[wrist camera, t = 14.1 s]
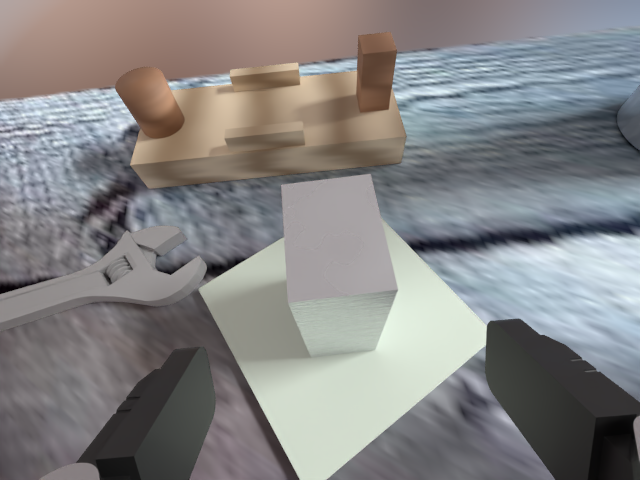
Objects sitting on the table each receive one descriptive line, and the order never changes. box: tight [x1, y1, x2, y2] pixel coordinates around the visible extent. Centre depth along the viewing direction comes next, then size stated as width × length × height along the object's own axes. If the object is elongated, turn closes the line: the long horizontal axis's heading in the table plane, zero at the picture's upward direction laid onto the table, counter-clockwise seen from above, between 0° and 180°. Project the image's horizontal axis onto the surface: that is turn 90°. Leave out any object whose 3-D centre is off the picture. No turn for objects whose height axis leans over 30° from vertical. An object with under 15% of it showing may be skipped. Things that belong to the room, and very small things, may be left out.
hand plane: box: [115, 32, 407, 189], centre depth 28 cm, size 22×9×8 cm, turn 95°
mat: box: [198, 218, 487, 480], centre depth 22 cm, size 14×14×1 cm
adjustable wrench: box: [0, 226, 207, 332], centre depth 24 cm, size 25×6×2 cm, turn 103°
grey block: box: [281, 174, 398, 358], centre depth 18 cm, size 4×6×10 cm
